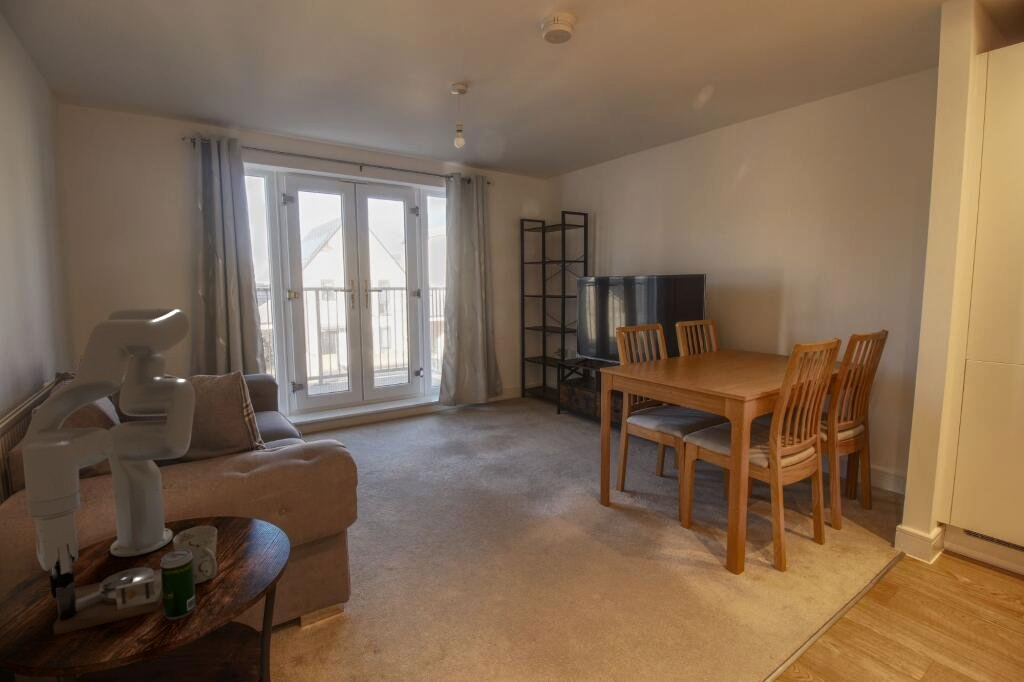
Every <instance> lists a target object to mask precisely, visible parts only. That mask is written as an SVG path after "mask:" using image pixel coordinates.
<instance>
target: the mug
mask: <svg viewBox="0 0 1024 682" xmlns="http://www.w3.org/2000/svg"><path fill="white" fill-rule="evenodd" d="M217 541H218V528H216V527H215V526H212V525H201V526H200V525H199V526H195V527H191V528H188V529H185V530H183V531H181V532H179V533H177V534H176V535H175V536H174V537H173V538H172V543H173V548H174V551H175V550H180V549H188V550H190V551H191V554H192V555H193V567H194V582H195V585H196V584H201V583H203V582H206V581H208V580H210V579H212V578H214V577H215V576H216V575H217V572H218V564H217V559H216V551H217Z"/></svg>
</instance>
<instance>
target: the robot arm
mask: <svg viewBox="0 0 1024 682" xmlns="http://www.w3.org/2000/svg"><path fill="white" fill-rule="evenodd" d="M189 330H190V319H189V317H188V315H187V314H186V313H185V311H183V310H181V309H177V308H168V307H167V308H162V307H161V308H160V307H159V308H154V307H153V308H148V307H147V308H146V307H143V308H142V307H139V308H137V307H134V308H133V307H132V308H131V307H130V308H122V309H117V310H115V311H112V312H111V313H110V314H109V315H108V318H107V320H104V321H101V322H98V323H97V324H95V326H94V327H93V328H92V329H91V332H90V334H89V338H88V340H87V343H86V345H85V348H84V351H83V353H82V355H81V356H82V357H81V360H80V363H79V365H78V368H77V371H76V374H75V376H74V378H73V379H72V380H71V381H69V382H68V383H67V384H66V385H63V386H62V387H61V388H59V389H58V390H57V391H56V392H54V394H51V396H50V397H48V398H47V399H46V400H45V401H44V402H43V403H42V404H41V405H40V406H39V407H38V408H37V409H36V411H35V412H34V414H33V416H32V419H31V420H30V423H29V426H28V428H27V430H26V433H25V435H24V437H23V442H22V448H21V451H22V462H23V464H22V465H23V474H24V483H25V484H24V485H25V494H26V503H27V513H28V515H27V516H28V518H29V519H31V520H34V521H35V523H34V524H35V539H36V556H37V559H38V562H39V563H40V567H41V568H42V570H44V571H46V572H49V573H50V576H49V584H50V593H51V596H52V598H53V599H57V595H56V588H57V587H58V586H59V585H61V584H63V583H67V582H74V583H75V578H74V571H73V563H76V562H77V561H78V559H79V544H78V533H77V532H78V529H77V523H76V522H77V520H76V513H75V512H76V511H77V510H79V509H80V508H81V507H82V505H83V504H82V503H83V502H82V495H81V494H82V492H81V483H80V481H81V480H80V470H81V469H83V468H88V467H91V466H94V465H96V464H99V463H101V462H103V461H105V460H106V459H107V460H108V463H109V466H110V471H111V477H112V487H113V500H114V511H115V513H114V514H115V521H116V522H115V524H116V534H117V539H116V540H115V541H114V542H113V543H112V544H111V545H110V549H109V550H110V554H111V555H113V556H116V557H120V558H123V557H124V558H126V557H135V556H141V555H145V554H148V553H152V552H154V551H156V550H159V549H160V548H162V547H164V546H166V545H167V544H168V543H170V542H171V540H173V538H174V537H173V536H174V535H173V531H172V530H171V529H170V528H166V527H165V515H164V512H165V511H164V499H163V498H164V497H163V488H162V475H161V470H160V469H159V467H158V465H157V464H156V463H155V460H156V461H157V460H170V459H177V458H182V457H183V456H184V455H185V454H186V453H187V452H188V450H189V448H190V445H191V439H192V432H193V423H194V414H195V407H196V406H195V404H196V393H195V392H196V391H195V388H194V386H193V384H192V383H191V382H190V381H189V380H187V379H186V378H180V377H166V378H165V374H166V373H165V371H166V359H165V356H164V355H163V354H164V353H167V352H168V351H169V350H171V349H172V348H173V347H175V346H176V345H178V344H179V343H181V342H182V341H183V340H184V339H185V338H186V337H187V335H188V333H189ZM119 391H120V392H119ZM117 392H119V398H118V400H119V401H118V407H119V409H120V411H121V413H122V414H124V415H126V416H128V417H129V416H130V417H156V416H157V417H159V416H162V417H163V416H166V417H167V420H145V421H144V420H140V421H139V420H138V421H126V422H121V423H118V424H116V425H114V426H112V427H111V428H109V430H108V429H106V428H101V427H74V428H72V427H71V428H68V427H67V428H61V427H62V425H63V424H64V422H65V421H66V419H67V418H69V417H70V415H72V414H73V413H75V412H76V411H77V410H79V409H81V408H82V407H85V406H87V405H90V404H92V403H94V402H97V401H99V400H101V399H104V398H106V397H109V396H112V395H114V394H116V393H117Z"/></svg>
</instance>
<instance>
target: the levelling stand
mask: <svg viewBox="0 0 1024 682" xmlns="http://www.w3.org/2000/svg"><path fill="white" fill-rule="evenodd" d="M153 571H154V578H153V579H148V580H144V581H139V582H134V583H130V584H125V585H121V586H117V587H116V597H117V604H113V605H108V604H104V603H102V602H101V601H100V602H97V603H95V604H92V605H90V606H87V607H85V608H82V609H80V610H78V611H77V614H76V615H75V616H73V617H71V618H69V619H65V620H60V619H59V616H58V617H57V619H56V621H55V622H54V624H53V635H55V634H59V635H61V634H60V633H63V634H67V633H71V632H75V631H79V630H83V628H84V629H87V627H88V628H91V627H95V626H99V625H104V624H108V623H113V622H115V621H120V620H124V618H125V619H128V618H133V617H136V616H140V615H141V616H142V615H144V614H149V613H153V612H154V613H155V612H157V611H159V610H160V608H161V607H160V606H161V603H162V601H163V594H162V581H161V569H158V570H153ZM154 579H155V581H154ZM102 582H103V581H100V582H95V583H91V584H87V585H82V586H78V587H75V596H76V600H77V599H80V598H82V597H85V596H87V595H90V594H92V593H95V592H97V591H99V586H100V584H101V583H102ZM78 629H79V630H78ZM70 631H71V632H70ZM55 636H56V635H55Z"/></svg>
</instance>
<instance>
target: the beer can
mask: <svg viewBox="0 0 1024 682" xmlns="http://www.w3.org/2000/svg"><path fill="white" fill-rule="evenodd" d="M160 570H161V581H162V594H163V597H162V605H163V615H164V616H165V618H166V619H167V620H171V621H176V620H181V619H183V618H185V617H188V616H190V615H191V614H192V613H193V612H194V610H195V607H196V606H197V602H196V601H197V599H196V586H195V585H196V584H195V582H194V567H193V555H192V554H191V551H190V550H188V549H180V550H175V549H174V550H173V551H170V552H168V553H166V554H164V555H163V556H162V557H161V561H160Z"/></svg>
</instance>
